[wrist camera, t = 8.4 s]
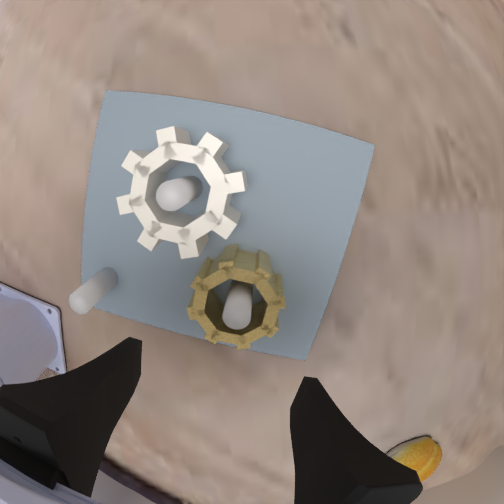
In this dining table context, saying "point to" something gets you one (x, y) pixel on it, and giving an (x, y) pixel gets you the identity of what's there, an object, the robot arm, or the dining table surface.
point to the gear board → (247, 202)
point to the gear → (155, 173)
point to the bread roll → (418, 455)
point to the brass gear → (211, 307)
